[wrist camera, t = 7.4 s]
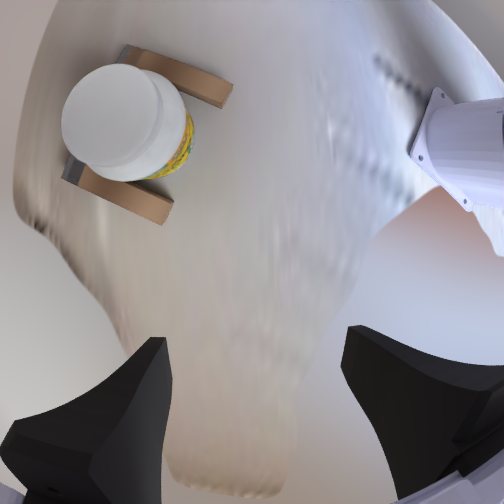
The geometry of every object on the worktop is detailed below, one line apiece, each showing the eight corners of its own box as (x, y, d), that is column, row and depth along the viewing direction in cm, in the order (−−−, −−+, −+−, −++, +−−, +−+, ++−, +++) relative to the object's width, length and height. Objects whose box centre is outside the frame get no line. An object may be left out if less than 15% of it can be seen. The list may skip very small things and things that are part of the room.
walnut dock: (231, 90, 17) (233, 84, 16) (165, 221, 19) (161, 225, 18) (132, 52, 16) (127, 44, 14) (70, 177, 17) (60, 178, 16)
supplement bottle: (164, 86, 17) (127, 22, 8) (212, 142, 18) (210, 113, 9) (104, 138, 17) (27, 118, 8) (150, 195, 19) (96, 214, 9)
